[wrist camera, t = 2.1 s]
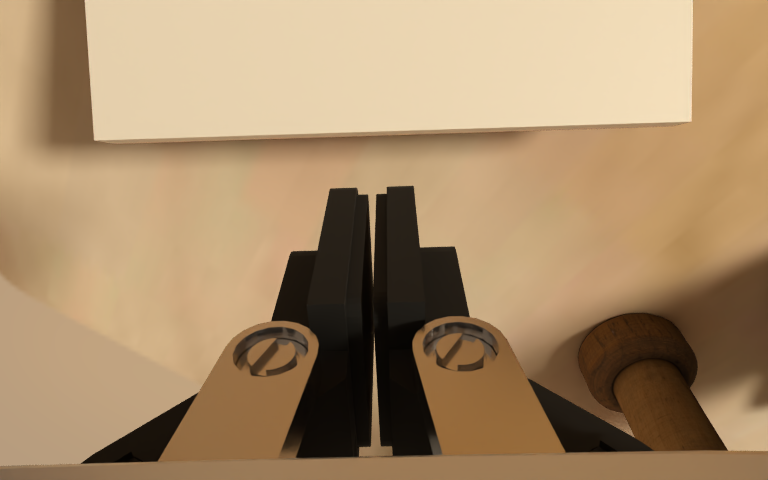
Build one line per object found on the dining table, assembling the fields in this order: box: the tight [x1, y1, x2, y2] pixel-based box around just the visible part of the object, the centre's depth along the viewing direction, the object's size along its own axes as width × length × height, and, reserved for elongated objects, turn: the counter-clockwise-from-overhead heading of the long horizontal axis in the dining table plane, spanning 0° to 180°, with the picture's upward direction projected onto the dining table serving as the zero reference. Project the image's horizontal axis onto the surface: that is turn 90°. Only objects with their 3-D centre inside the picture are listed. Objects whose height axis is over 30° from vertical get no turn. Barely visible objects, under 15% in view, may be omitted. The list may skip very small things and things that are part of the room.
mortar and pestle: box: [578, 313, 728, 451], centre depth 29 cm, size 7×6×18 cm
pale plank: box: [85, 0, 693, 144], centre depth 23 cm, size 9×24×2 cm, turn 91°
